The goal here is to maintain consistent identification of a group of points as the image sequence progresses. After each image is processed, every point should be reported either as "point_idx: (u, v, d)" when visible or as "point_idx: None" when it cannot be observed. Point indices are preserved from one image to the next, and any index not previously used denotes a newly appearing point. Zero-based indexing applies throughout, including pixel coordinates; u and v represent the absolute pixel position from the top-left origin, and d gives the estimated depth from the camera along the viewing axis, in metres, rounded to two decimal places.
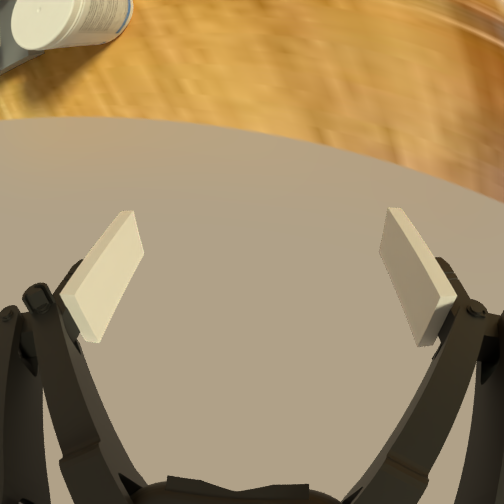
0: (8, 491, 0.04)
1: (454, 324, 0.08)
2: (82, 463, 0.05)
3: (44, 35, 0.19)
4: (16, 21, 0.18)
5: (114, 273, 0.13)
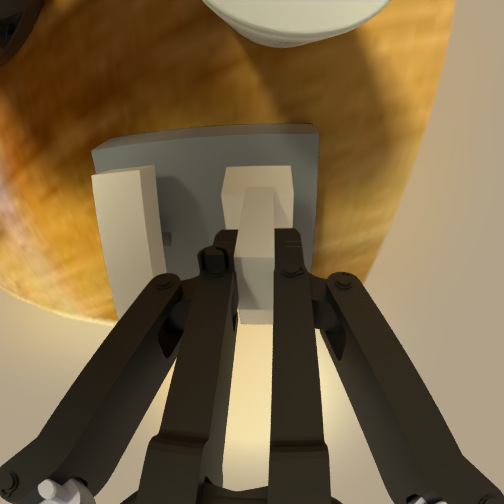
0: (64, 468, 0.05)
1: (274, 293, 0.10)
2: (174, 454, 0.05)
3: None
4: (296, 10, 0.09)
5: None
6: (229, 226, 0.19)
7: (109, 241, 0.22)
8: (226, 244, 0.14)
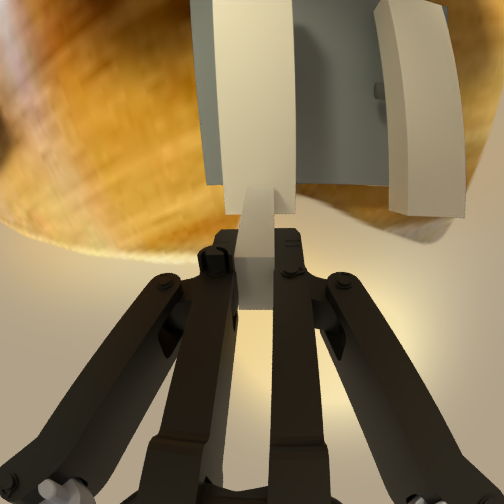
0: (64, 468, 0.05)
1: (274, 293, 0.10)
2: (175, 454, 0.05)
3: None
4: None
5: None
6: (395, 20, 0.13)
7: (230, 56, 0.14)
8: (226, 244, 0.14)
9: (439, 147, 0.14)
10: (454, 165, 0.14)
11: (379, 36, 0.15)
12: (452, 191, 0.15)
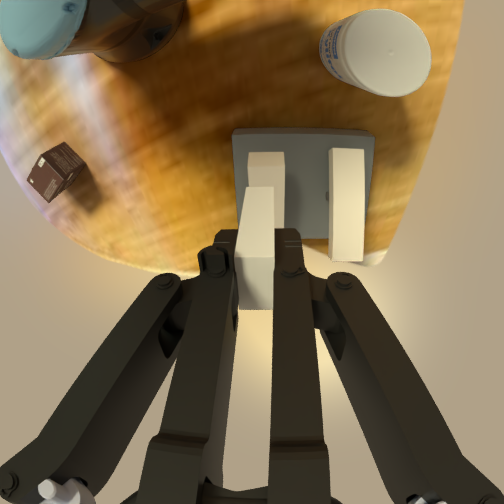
0: (64, 469, 0.05)
1: (274, 293, 0.10)
2: (175, 454, 0.05)
3: (421, 53, 0.22)
4: (389, 86, 0.24)
5: None
6: (334, 166, 0.36)
7: None
8: (226, 244, 0.14)
9: (349, 230, 0.37)
10: (357, 237, 0.38)
11: (329, 168, 0.39)
12: (355, 249, 0.38)
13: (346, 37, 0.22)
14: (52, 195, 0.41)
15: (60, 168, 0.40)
